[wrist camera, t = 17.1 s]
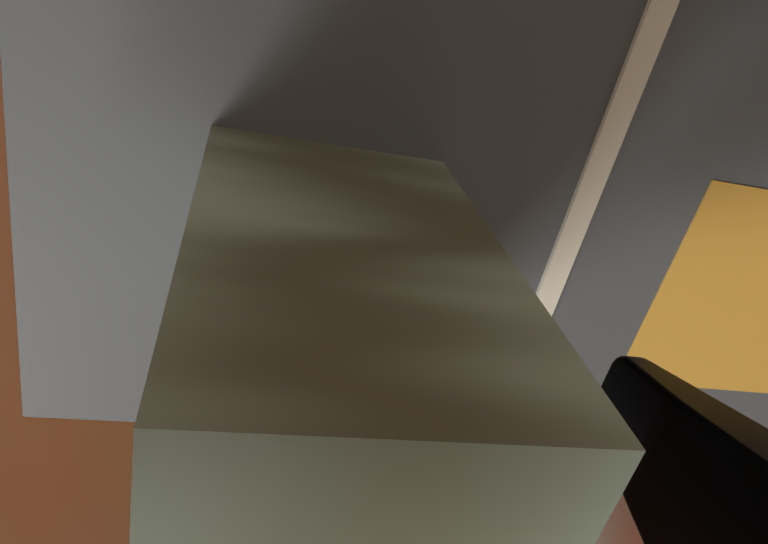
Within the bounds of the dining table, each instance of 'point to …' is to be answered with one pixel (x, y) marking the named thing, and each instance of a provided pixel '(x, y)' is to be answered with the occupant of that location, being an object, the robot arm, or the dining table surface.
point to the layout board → (402, 137)
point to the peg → (361, 368)
